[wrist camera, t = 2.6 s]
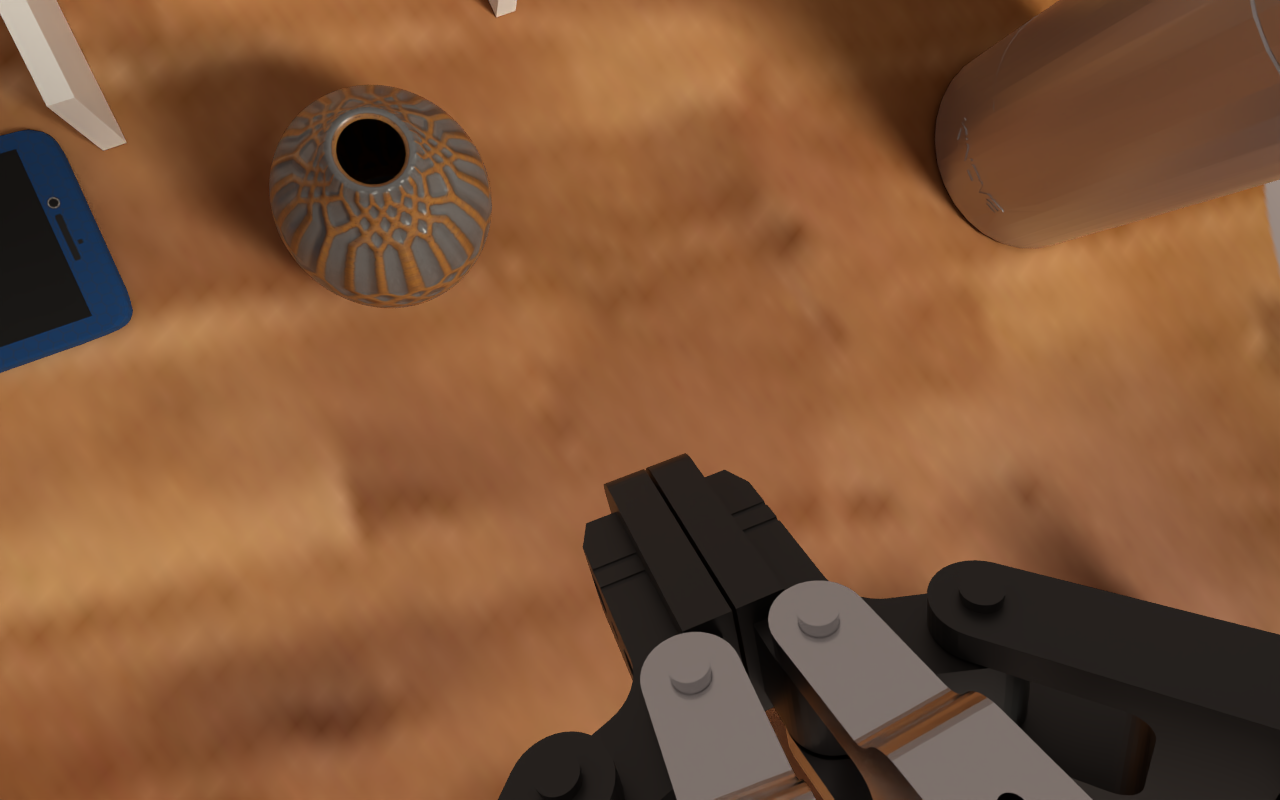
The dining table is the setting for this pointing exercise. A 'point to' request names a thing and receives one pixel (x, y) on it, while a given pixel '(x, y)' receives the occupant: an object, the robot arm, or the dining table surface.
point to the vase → (380, 196)
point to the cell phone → (50, 256)
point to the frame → (78, 66)
